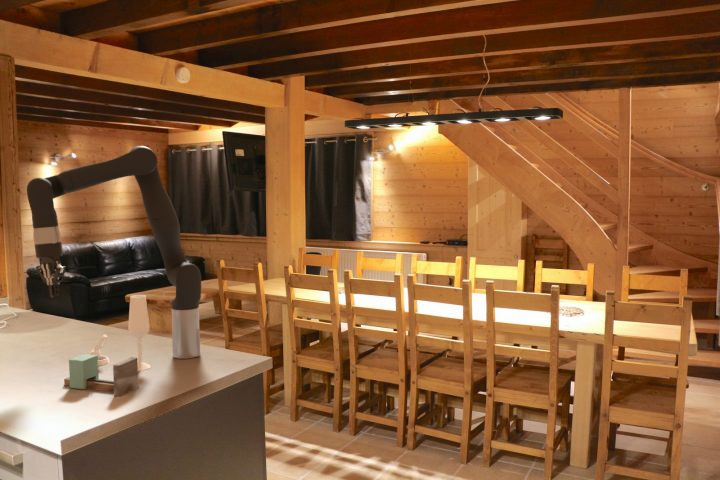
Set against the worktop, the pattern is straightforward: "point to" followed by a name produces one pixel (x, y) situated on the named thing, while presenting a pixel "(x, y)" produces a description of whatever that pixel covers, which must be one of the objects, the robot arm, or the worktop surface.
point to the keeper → (83, 370)
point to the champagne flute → (139, 324)
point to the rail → (116, 378)
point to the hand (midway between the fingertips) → (55, 296)
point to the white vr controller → (96, 351)
